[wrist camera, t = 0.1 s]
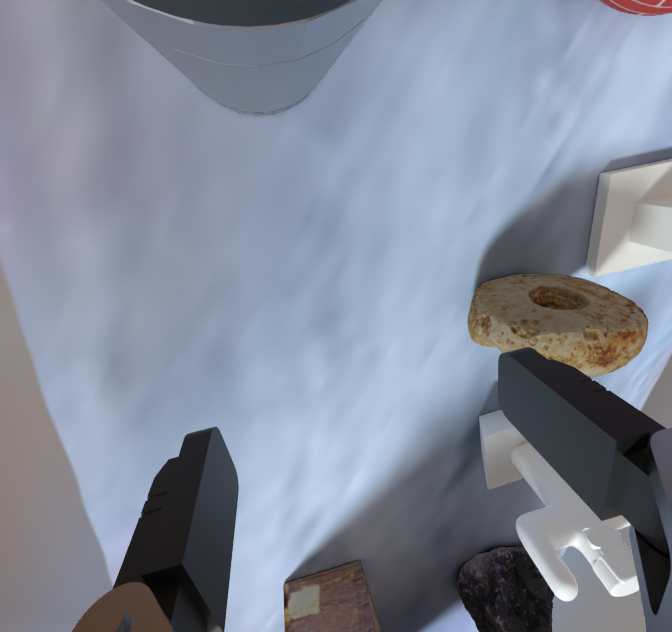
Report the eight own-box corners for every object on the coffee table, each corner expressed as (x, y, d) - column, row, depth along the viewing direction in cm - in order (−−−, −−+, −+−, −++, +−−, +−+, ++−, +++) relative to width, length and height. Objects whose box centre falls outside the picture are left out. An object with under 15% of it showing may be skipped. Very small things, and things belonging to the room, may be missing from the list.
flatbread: (568, 260, 29) (698, 309, 20) (560, 301, 31) (677, 363, 22) (448, 278, 28) (532, 339, 19) (446, 320, 30) (522, 394, 21)
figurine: (541, 437, 38) (690, 593, 25) (458, 463, 38) (563, 637, 24) (544, 384, 35) (715, 531, 21) (453, 412, 34) (570, 581, 21)
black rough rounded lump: (497, 520, 45) (543, 616, 36) (567, 553, 49) (625, 647, 39) (427, 576, 49) (452, 674, 40) (496, 601, 53) (534, 696, 44)
